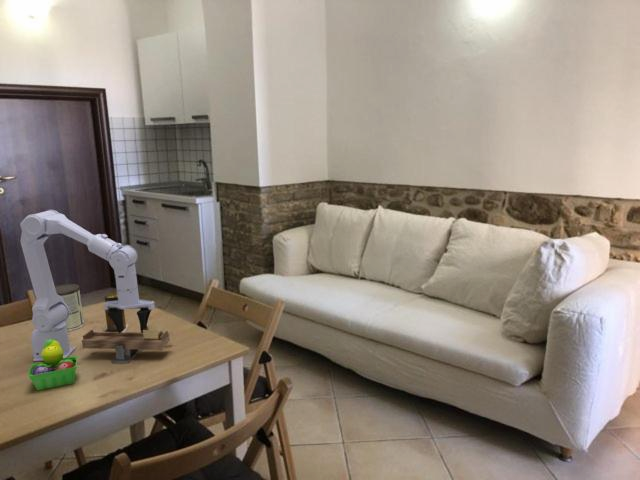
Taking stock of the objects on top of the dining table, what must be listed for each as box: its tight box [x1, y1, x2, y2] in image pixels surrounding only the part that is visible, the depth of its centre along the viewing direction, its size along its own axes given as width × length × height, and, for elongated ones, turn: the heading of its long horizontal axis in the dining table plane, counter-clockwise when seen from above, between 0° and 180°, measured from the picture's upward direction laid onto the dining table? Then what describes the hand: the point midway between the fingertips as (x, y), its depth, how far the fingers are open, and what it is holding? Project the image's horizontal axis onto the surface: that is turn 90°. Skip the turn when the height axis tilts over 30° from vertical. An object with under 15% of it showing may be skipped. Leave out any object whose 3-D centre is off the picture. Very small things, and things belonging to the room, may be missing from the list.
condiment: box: [103, 293, 130, 332], centre depth 170 cm, size 7×8×12 cm
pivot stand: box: [111, 344, 142, 364], centre depth 150 cm, size 5×10×5 cm, turn 175°
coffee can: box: [54, 283, 85, 332], centre depth 174 cm, size 10×10×14 cm
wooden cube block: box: [143, 324, 165, 340], centre depth 148 cm, size 4×4×4 cm
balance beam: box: [81, 329, 171, 351], centre depth 150 cm, size 24×7×4 cm, turn 85°
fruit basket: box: [27, 339, 78, 391], centre depth 135 cm, size 11×9×11 cm
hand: (132, 331), depth 149 cm, fingers open, 6 cm apart
